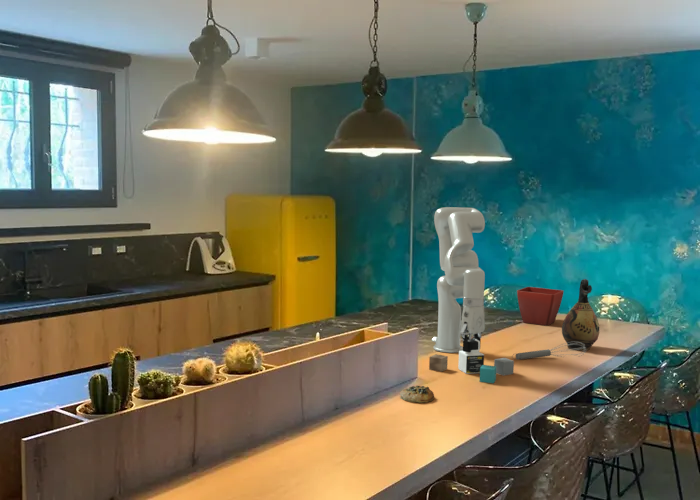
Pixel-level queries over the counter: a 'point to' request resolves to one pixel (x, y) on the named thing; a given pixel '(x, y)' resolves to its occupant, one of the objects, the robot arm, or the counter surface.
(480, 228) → the robot arm
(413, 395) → the bread roll
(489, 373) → the deep teal block
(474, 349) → the medicine bottle
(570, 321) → the ceramic jug
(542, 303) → the plant pot
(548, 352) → the kitchen whisk
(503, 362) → the slate grey block
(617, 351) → the counter surface
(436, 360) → the walnut block
